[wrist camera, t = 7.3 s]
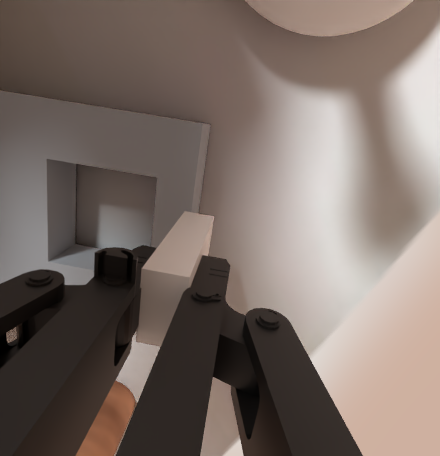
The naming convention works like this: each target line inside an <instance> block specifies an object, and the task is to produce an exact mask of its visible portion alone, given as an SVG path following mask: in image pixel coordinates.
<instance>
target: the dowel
mask: <svg viewBox="0 0 440 456" xmlns="http://www.w3.org/2000/svg"><path fill="white" fill-rule="evenodd" d="M134 407H135V400H134V397H133V394H132V393H131V391H130V390H129V389H128V388H127V387H126V386H124V385H123V384H121V383H119V382H117V381H115V382H114V384H113V386H112V388H111V389H110V391H109V393H108V395H107V397H106V399H105V401H104V403H103V405H102V407H101V408H100V410H99V412H98V414H97V416H96V418H95V420H94V422H93V424H92V426H91V427H90V429H89V431H88V433H87V435H86V437H85V439H84V441H83V443H82V445H81V446H80V448H79V450H78V452H77V454H76V456H114V454H115V452H116V450H117V447H118V445H119V443H120V440H121V438H122V436H123V433H124V431H125V429H126V426H127V424H128V422H129V419H130V417H131V415H132V412H133V410H134Z"/></svg>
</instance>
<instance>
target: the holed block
mask: <svg viewBox="0 0 440 456" xmlns="http://www.w3.org/2000/svg"><path fill="white" fill-rule="evenodd" d="M210 126H211V124H206V123H200V122H193V121H187V120H181V119H175V118H169V117H163V116H156V115H150V114H144V113H138V112H132V111H126V110H119V109H113V108H107V107H101V106H95V105H88V104H82V103H76V102H70V101H64V100H58V99H51V98H45V97H39V96H33V95H27V94H21V93H14V92H8V91H2V90H0V284H1V283H3V282H5V281H8V280H10V279H12V278H14V277H16V276H19V275H21V274H23V273H26V272H30V271H34V270H39V269H44V270H45V269H49V270H53V271H58V272H59V273H61V274H63V276H64V278H65V285H86V284H87V283H88V282H89V281H90V280H91V279H92V278H93V277H94V257H95V252H97V251H98V250H101V249H99V248H94V247H88V246H83V245H78V244H75V227H76V164H80V165H86V166H92V167H98V168H104V169H109V170H115V171H121V172H127V173H133V174H138V175H144V176H150V177H156V178H157V184H156V195H155V206H154V217H153V228H152V239H151V247H155V248H157V247H158V246H159V245H160V243H161V242H162V241H163V239H164V238H165V237H166V235H167V234H168V233H169V231H170V230H171V229H172V227H173V226H174V225H175V223H176V222H177V221H178V219H179V218H180V217H181V215H182V214H183V213H184V211H187V212H193V213H199V206H200V199H201V192H202V185H203V177H204V170H205V163H206V155H207V148H208V141H209V134H210Z"/></svg>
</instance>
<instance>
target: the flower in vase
mask: <svg viewBox="0 0 440 456" xmlns="http://www.w3.org/2000/svg"><path fill="white" fill-rule="evenodd" d="M245 1H246V2H247V3H248V4H249V5H250V6H251V7H252V8H253V9H254V10H255V11H257V12H258V13H259V14H260V15H261V16H263V17H264V18H266V19H267V20H269V21H270V22H272V23H274V24H275V25H278V26H280V27H282V28H284V29H287V30H289V31H292V32H296V33H300V34H303V35H311V36H319V37H321V36H339V35H345V34H351V33H355V32H358V31H361V30H364V29H367V28H370V27H372V26H374V25H376V24H379V23H381V22H383V21H385V20H387V19H388V18H390V17H391V16H393V15H395V14H396V13H398V12H400V11H401V10H402V9H404V8H405V7H406V6H407V5H409V4H410V3H411V2H413V1H414V0H245Z"/></svg>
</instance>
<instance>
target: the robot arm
mask: <svg viewBox="0 0 440 456" xmlns="http://www.w3.org/2000/svg"><path fill="white" fill-rule="evenodd" d="M213 222H214V216H210V215H204V214H199V213H193V212H187V211H184V213H183V214H182V215H181V217H180V218H179V219H178V221H177V222H176V223H175V225H174V226H173V227H172V229H171V230H170V231H169V233H168V234H167V235H166V237H165V238H164V239H163V241H162V242H161V243H160V245H159V246H158V247H157V248H155V247H149V246H144V245H142V246H140V247H137V248H135V249H133V250H132V251H131V250H128V249H125V248H116V247H114V248H105V249H101V250H98V251H97V252H95V257H94V277H93V278H92V279H91V280H90V281H89V282H88V283H87V284H86V285H65V278H64V276H63V274H61V273H59V272H58V271H53V270H49V269H45V270H44V269H39V270H34V271H30V272H26V273H23V274H21V275H19V276H16V277H14V278H12V279H10V280H8V281H5V282H3V283H1V284H0V456H76V454H77V452H78V450H79V448H80V446H81V445H82V443H83V441H84V439H85V437H86V435H87V433H88V431H89V429H90V427H91V426H92V424H93V422H94V420H95V418H96V416H97V414H98V412H99V410H100V408H101V407H102V405H103V403H104V401H105V399H106V397H107V395H108V393H109V391H110V389H111V388H112V386H113V384H114V382H115V380H116V378H117V376H118V374H119V372H120V370H121V369H122V367H123V365H124V363H125V361H126V359H127V357H128V355H129V353H130V350H131V344H132V337H133V335H134V333H135V331H136V329H137V334H136V342H141V343H146V344H151V345H156V346H161V347H160V350H159V352H158V355H157V357H156V359H155V362H154V364H153V367H152V369H151V372H150V374H149V376H148V379H147V381H146V384H145V386H144V389H143V391H142V393H141V396H140V398H139V401H138V403H137V406H136V408H135V410H134V413H133V415H132V418H131V420H130V423H129V425H128V427H127V430H126V432H125V435H124V437H123V440H122V442H121V444H120V447H119V449H118V452H117V454H116V456H200V452H201V446H202V440H203V434H204V428H205V421H206V415H207V409H208V403H209V397H210V390H211V384H212V378H213V377H215V378H217V379H219V380H221V381H223V382H225V383H227V384H229V385H231V395H232V400H233V405H234V410H235V415H236V420H237V425H238V430H239V435H240V439H241V444H242V449H243V454H244V456H363V455H362V454H361V452H360V450H359V448H358V446H357V444H356V442H355V441H354V439H353V437H352V436H351V433H350V431H349V430H348V428H347V426H346V424H345V422H344V420H343V419H342V417H341V415H340V413H339V411H338V409H337V408H336V406H335V404H334V402H333V400H332V398H331V397H330V395H329V393H328V391H327V389H326V388H325V386H324V384H323V382H322V380H321V378H320V376H319V375H318V373H317V371H316V369H315V367H314V366H313V364H312V362H311V360H310V358H309V356H308V354H307V353H306V351H305V349H304V347H303V345H302V344H301V342H300V340H299V338H298V336H297V334H296V333H295V331H294V329H293V327H292V325H291V323H290V322H289V321H288V319H287V318H286V317H285V316H283V315H282V314H280V313H278V312H276V311H273V310H271V309H265V308H257V309H253V310H250V311H249V312H248V313H247V314H246V316H245V315H243V314H240V313H238V312H236V311H234V310H233V309H232V308H230V307H229V306H228V304H227V303H226V301H225V295H226V289H227V283H228V276H229V270H230V265H229V263H228V262H227V260H226V259H221V258H216V257H210V256H208V254H209V248H210V241H211V235H212V228H213ZM15 327H16V328H17V339H16V340H14V341H12V342H10V343H7V340H6V332H8V331H10V330H11V329H13V328H15Z"/></svg>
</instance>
